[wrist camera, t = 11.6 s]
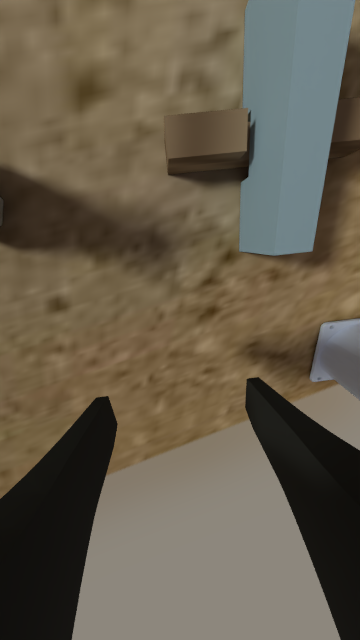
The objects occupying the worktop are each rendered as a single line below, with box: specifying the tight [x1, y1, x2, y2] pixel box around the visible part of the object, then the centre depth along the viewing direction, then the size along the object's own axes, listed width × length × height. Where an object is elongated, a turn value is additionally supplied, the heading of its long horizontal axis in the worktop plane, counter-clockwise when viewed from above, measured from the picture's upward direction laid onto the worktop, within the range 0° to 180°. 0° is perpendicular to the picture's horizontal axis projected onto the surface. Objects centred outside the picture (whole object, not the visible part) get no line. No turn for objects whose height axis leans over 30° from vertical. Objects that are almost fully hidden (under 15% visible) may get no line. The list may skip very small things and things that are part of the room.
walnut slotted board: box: [164, 97, 360, 175], centre depth 13 cm, size 14×2×3 cm, turn 96°
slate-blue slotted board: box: [239, 0, 355, 256], centre depth 11 cm, size 2×14×6 cm, turn 6°
